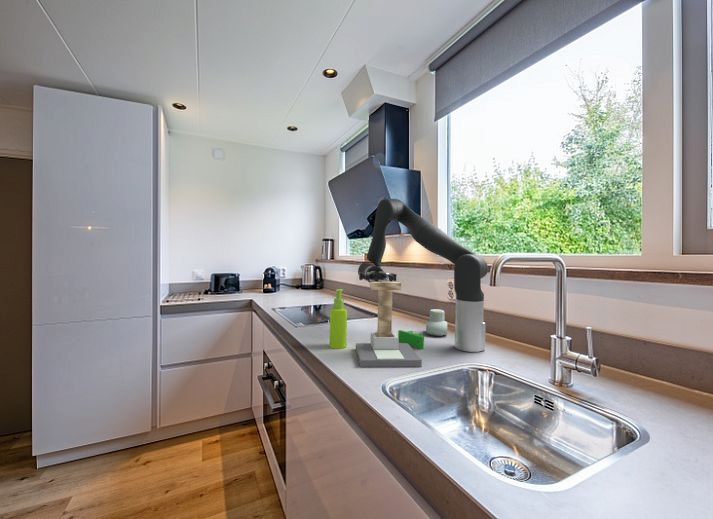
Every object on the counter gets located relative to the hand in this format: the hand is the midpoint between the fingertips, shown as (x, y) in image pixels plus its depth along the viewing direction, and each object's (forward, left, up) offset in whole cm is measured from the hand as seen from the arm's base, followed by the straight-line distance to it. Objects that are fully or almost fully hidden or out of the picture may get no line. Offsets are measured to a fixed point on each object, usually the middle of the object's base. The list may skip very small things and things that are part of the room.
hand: (380, 278), depth 115 cm
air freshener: (-26, -12, -24) cm, 38 cm away
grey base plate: (0, +16, -24) cm, 28 cm away
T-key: (0, +11, -22) cm, 25 cm away
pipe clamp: (-12, +2, -24) cm, 27 cm away
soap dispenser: (+15, +4, -24) cm, 28 cm away
